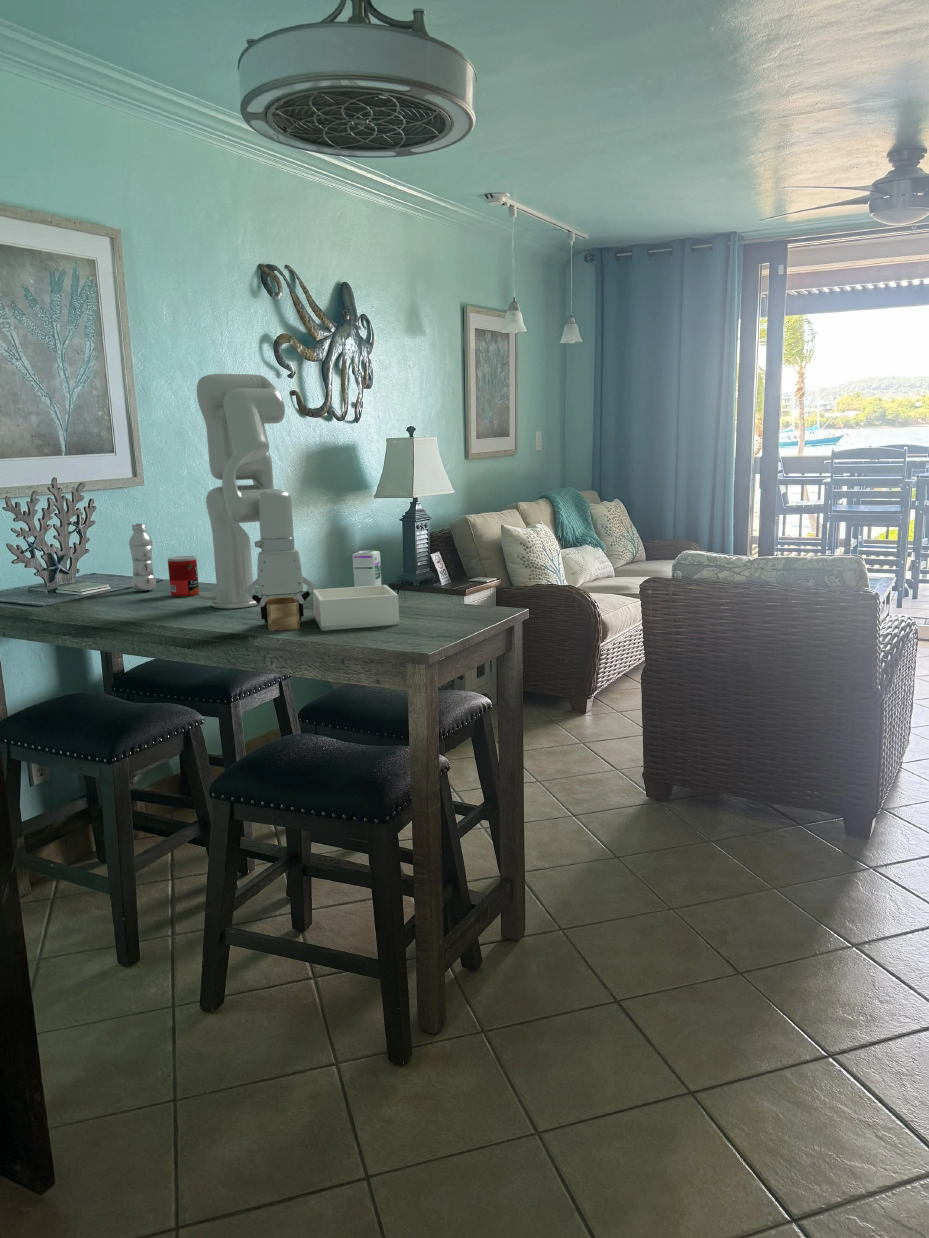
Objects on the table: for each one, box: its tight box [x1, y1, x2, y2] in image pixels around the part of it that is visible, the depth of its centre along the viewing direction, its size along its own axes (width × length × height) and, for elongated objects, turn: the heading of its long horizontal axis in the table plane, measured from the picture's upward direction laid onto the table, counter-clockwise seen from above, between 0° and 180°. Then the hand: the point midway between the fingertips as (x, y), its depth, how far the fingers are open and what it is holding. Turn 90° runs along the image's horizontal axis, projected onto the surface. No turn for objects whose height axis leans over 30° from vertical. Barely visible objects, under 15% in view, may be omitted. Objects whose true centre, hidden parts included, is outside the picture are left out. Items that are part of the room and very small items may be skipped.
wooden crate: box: [266, 595, 301, 632], centre depth 207 cm, size 7×10×6 cm
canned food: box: [167, 555, 200, 597], centre depth 254 cm, size 8×8×11 cm
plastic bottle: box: [128, 523, 157, 592], centre depth 263 cm, size 6×7×20 cm
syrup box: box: [352, 550, 383, 587], centre depth 227 cm, size 6×6×14 cm
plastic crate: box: [312, 584, 400, 631], centre depth 210 cm, size 18×16×7 cm
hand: (282, 620), depth 207 cm, fingers closed on wooden crate, 7 cm apart
